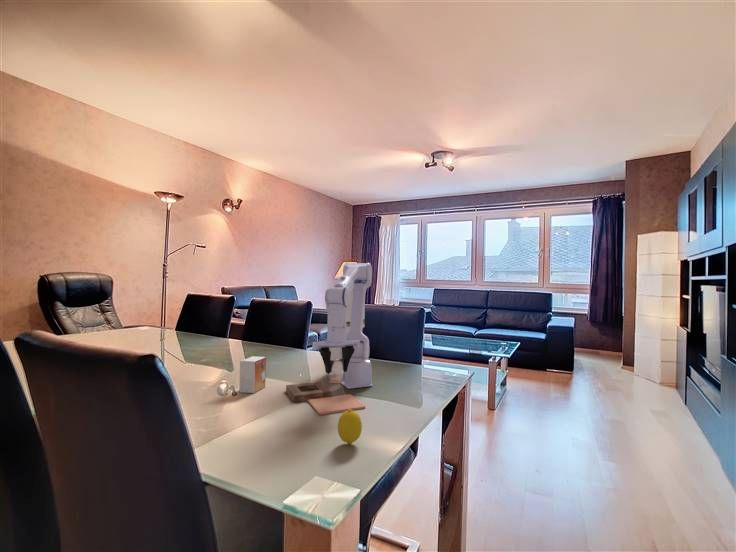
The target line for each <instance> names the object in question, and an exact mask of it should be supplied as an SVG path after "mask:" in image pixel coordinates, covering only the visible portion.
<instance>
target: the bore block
mask: <svg viewBox="0 0 736 552" xmlns="http://www.w3.org/2000/svg"><path fill="white" fill-rule="evenodd" d="M285 392H286V393H287V394H288V396H289V397H290V398H291V400H292V401H293V402H294V403H298V402H306V401H307V402H308V400H310V399H318V398H325V397H333V396H332V394H333V393H332V389H330V388H329V387H327V386H326V385H325V384H324V383H323V382H322V381H313V382H306V383H303V382H302V383H295V384H287V385H286V384H285Z"/></svg>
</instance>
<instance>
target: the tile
mask: <svg viewBox="0 0 736 552" xmlns="http://www.w3.org/2000/svg"><path fill="white" fill-rule="evenodd" d="M307 402H308V404H309V405H310V406H311V407H312V408H313V409H314V410H315V412H316V413H317V414H318V415H319V416H322V415H329V414H335V413H344V412H345V411H348V410H349V409H351V410H352V411H355V410H363V409H366V405H365V404H363V403H362V402H361V401H359V400H358V399H357V398H355V397H354V396H353V395H352V394H343V395H335V396H332V397H325V398H318V399H310V400H308V401H307Z"/></svg>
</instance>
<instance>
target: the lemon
mask: <svg viewBox="0 0 736 552" xmlns="http://www.w3.org/2000/svg"><path fill="white" fill-rule="evenodd" d="M337 421H338V422H337V434H338V436H339V438H340V439H341V441H343V442H345V443H346V444H347V445H352V444H353V443H355V442H357V440H358V439H360V437H361V434H362V430H363V425H362V419H361V417H360V414H359V413H357V412H356V411H355V410H351V409H349V410H348V411H343V412H341V414H340V416H339V418H338V420H337Z"/></svg>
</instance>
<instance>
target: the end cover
mask: <svg viewBox="0 0 736 552" xmlns="http://www.w3.org/2000/svg"><path fill="white" fill-rule="evenodd" d="M343 381H344V359H342V358H330V373H327V382H328V383H331V384H341V383H342V382H343Z"/></svg>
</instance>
